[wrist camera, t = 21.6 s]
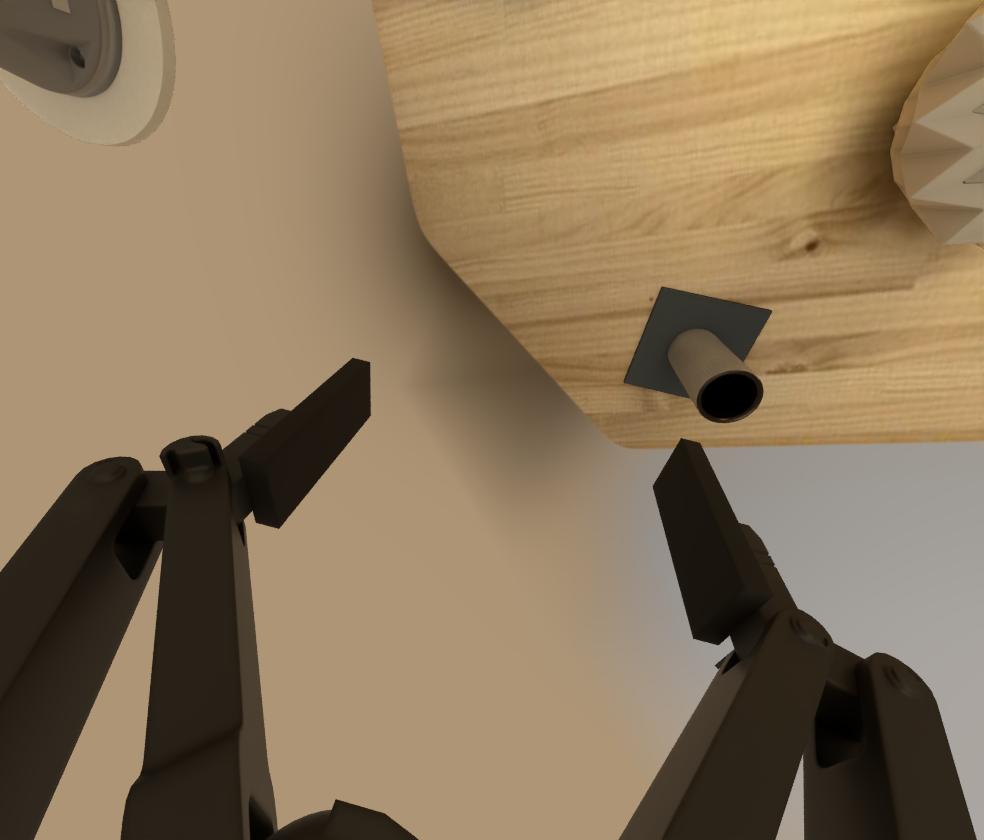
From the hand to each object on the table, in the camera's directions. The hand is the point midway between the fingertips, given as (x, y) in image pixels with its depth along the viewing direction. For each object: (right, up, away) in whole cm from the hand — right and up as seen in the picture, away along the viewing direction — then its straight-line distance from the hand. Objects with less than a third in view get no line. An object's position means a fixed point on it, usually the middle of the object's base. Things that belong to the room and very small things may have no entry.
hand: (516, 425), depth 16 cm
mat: (+19, +7, +21) cm, 29 cm away
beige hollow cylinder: (+19, +7, +21) cm, 29 cm away
